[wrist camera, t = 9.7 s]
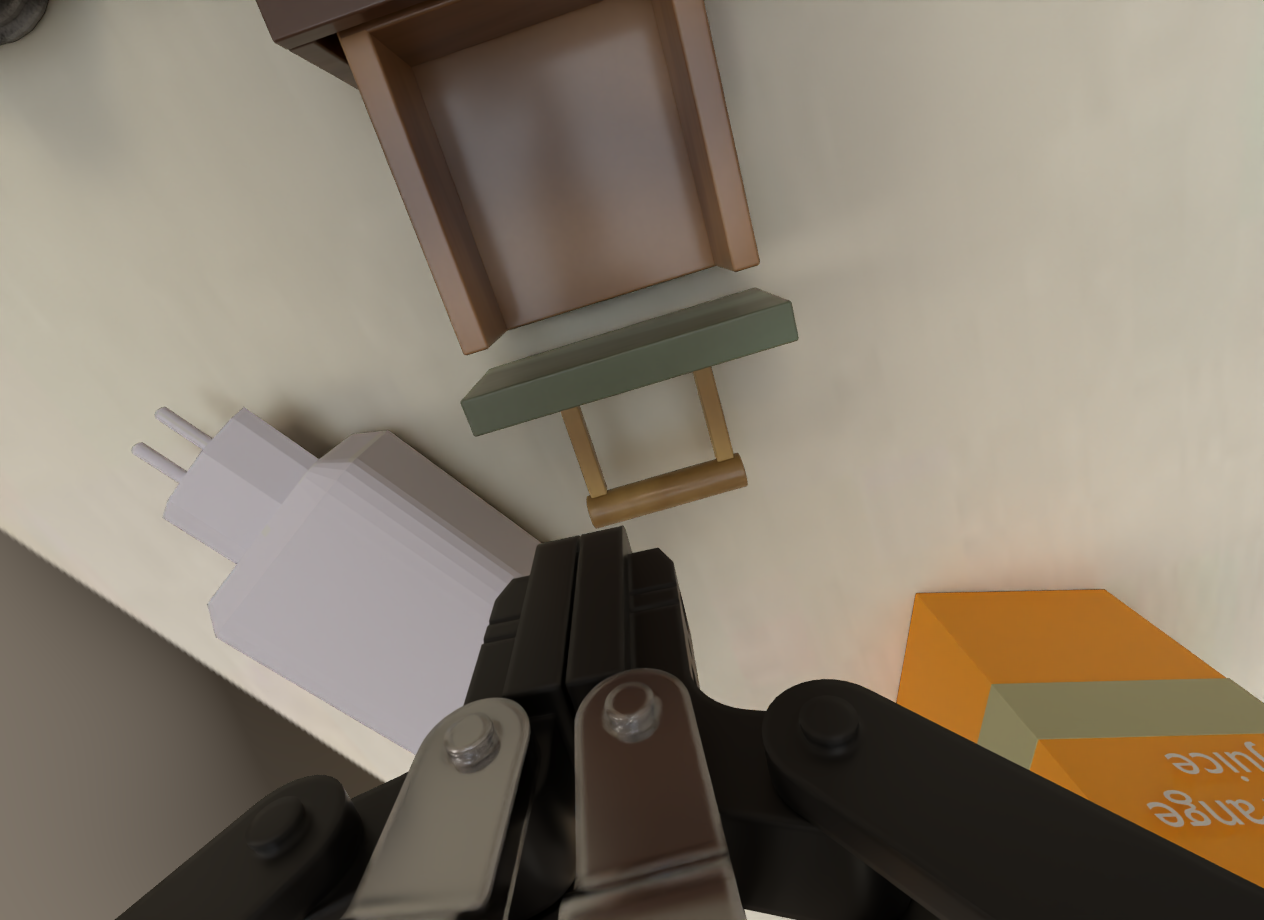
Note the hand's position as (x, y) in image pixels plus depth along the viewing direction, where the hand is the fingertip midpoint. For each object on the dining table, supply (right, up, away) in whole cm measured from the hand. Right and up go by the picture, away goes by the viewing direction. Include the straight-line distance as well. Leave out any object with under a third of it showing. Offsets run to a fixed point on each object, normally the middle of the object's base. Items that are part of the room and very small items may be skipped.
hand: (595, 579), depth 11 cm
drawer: (0, +9, +11) cm, 14 cm away
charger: (-11, 0, +15) cm, 19 cm away
